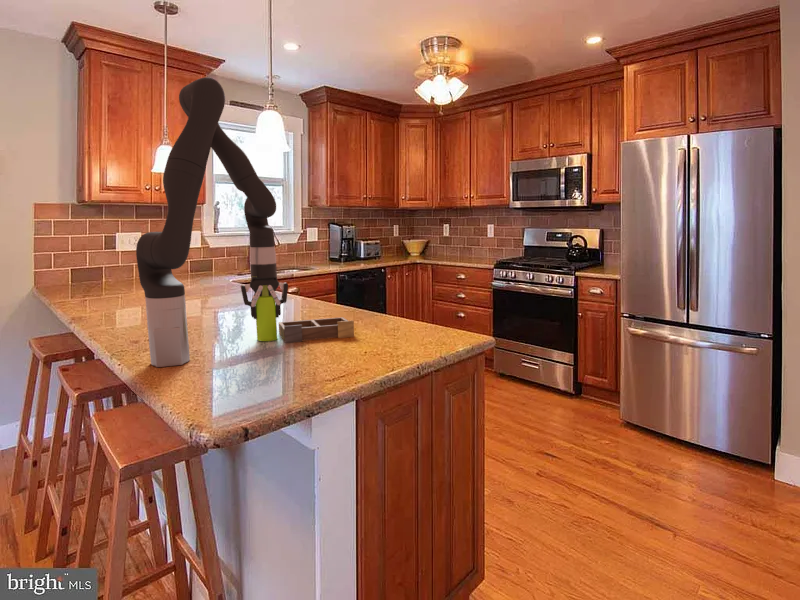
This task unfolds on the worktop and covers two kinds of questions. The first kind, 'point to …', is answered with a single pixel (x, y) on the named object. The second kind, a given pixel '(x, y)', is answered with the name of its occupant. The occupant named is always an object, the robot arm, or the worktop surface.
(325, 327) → the dock
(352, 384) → the worktop surface
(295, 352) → the worktop surface
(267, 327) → the soap dispenser
